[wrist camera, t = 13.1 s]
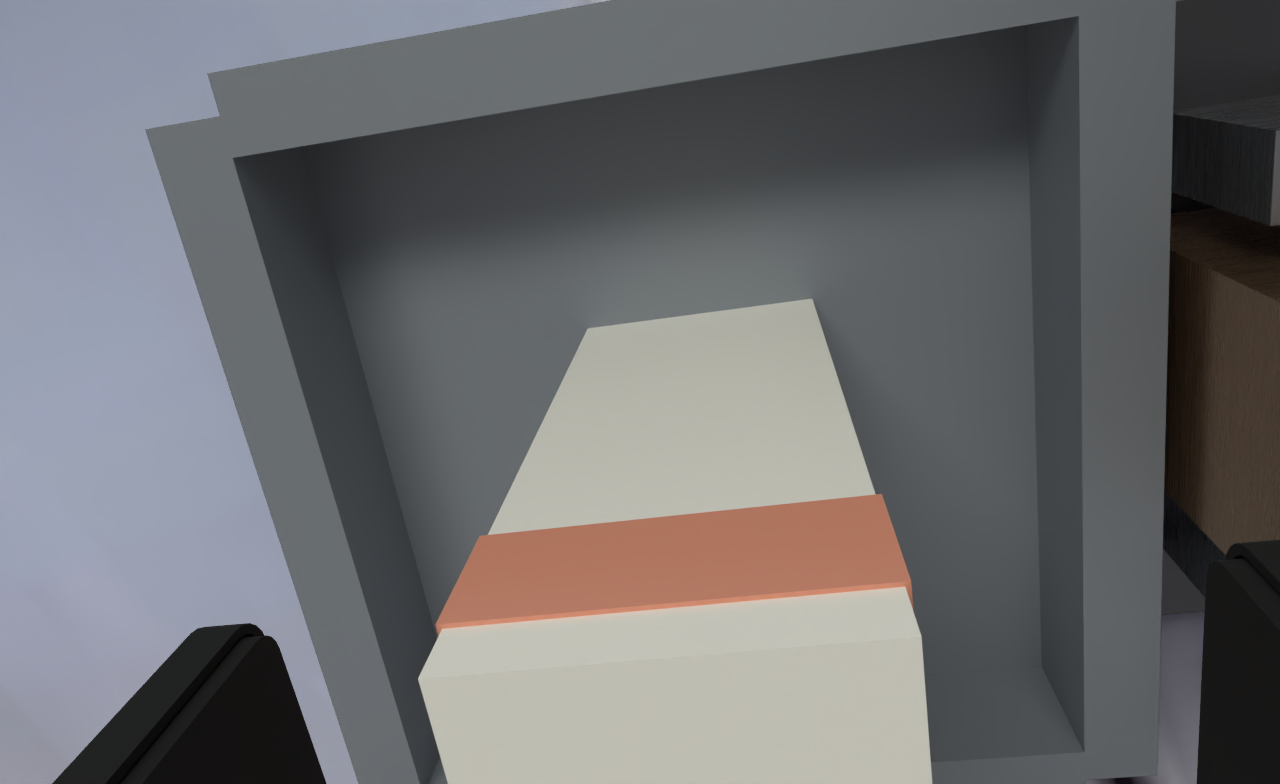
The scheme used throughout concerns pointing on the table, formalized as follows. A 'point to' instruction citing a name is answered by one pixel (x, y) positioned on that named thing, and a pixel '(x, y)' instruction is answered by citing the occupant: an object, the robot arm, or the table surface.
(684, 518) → the block
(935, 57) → the tray
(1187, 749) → the table surface
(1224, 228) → the fuse holder
